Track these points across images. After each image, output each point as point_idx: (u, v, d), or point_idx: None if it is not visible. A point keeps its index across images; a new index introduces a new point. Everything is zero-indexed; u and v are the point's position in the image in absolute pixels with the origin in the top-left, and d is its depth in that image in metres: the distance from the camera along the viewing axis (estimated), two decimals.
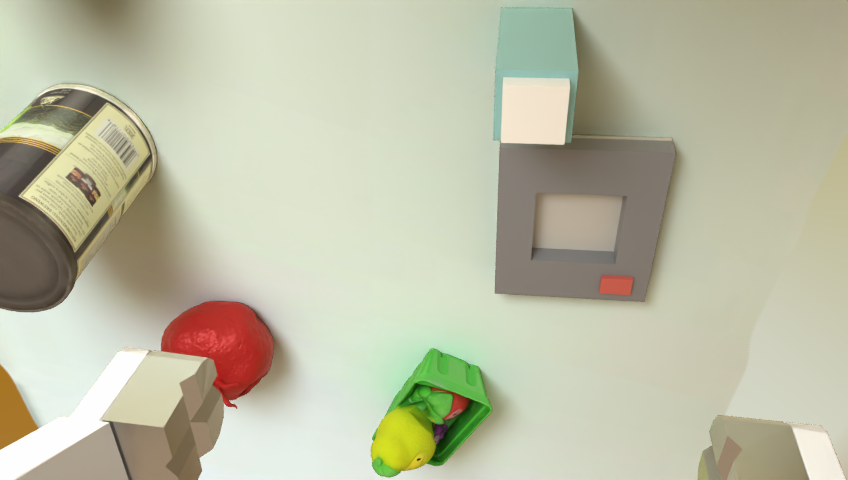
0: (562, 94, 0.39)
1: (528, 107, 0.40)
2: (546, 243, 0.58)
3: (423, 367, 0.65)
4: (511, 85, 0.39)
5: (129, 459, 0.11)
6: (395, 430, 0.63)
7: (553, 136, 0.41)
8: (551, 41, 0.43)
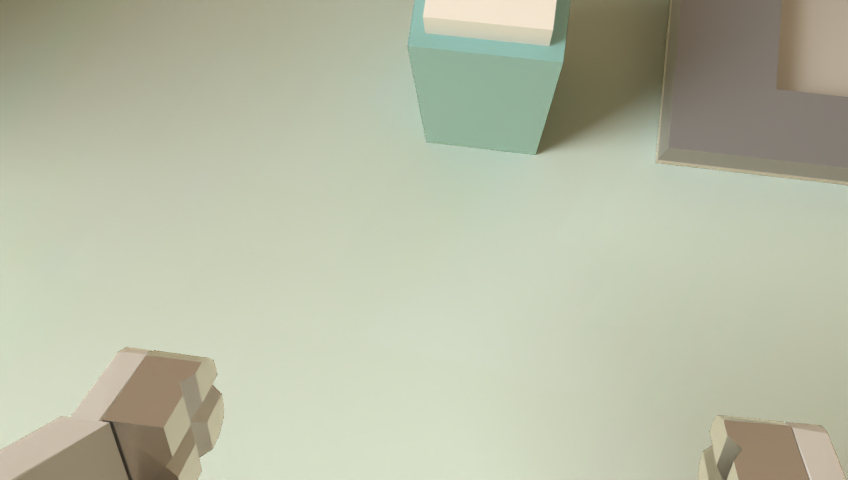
0: None
1: None
2: None
3: None
4: (425, 2, 0.20)
5: (129, 459, 0.11)
6: None
7: None
8: None
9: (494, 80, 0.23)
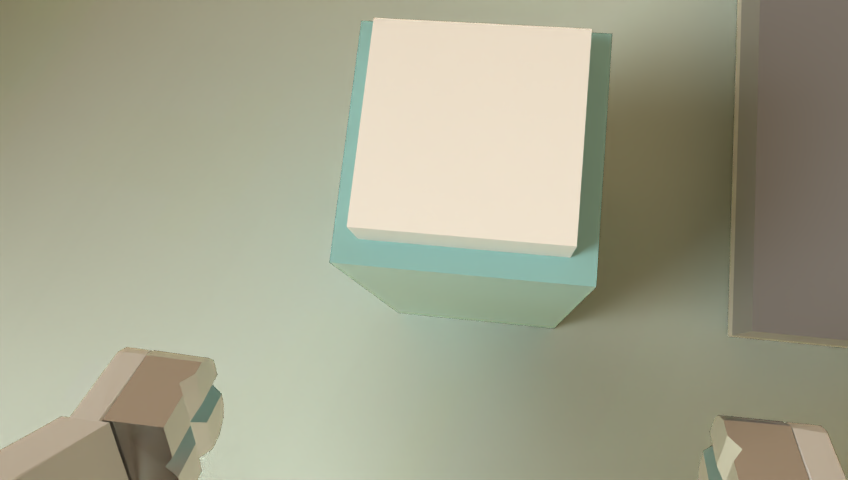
0: (397, 39, 0.12)
1: (436, 145, 0.12)
2: None
3: None
4: (351, 197, 0.12)
5: (129, 459, 0.11)
6: None
7: (556, 64, 0.12)
8: None
9: (482, 290, 0.14)
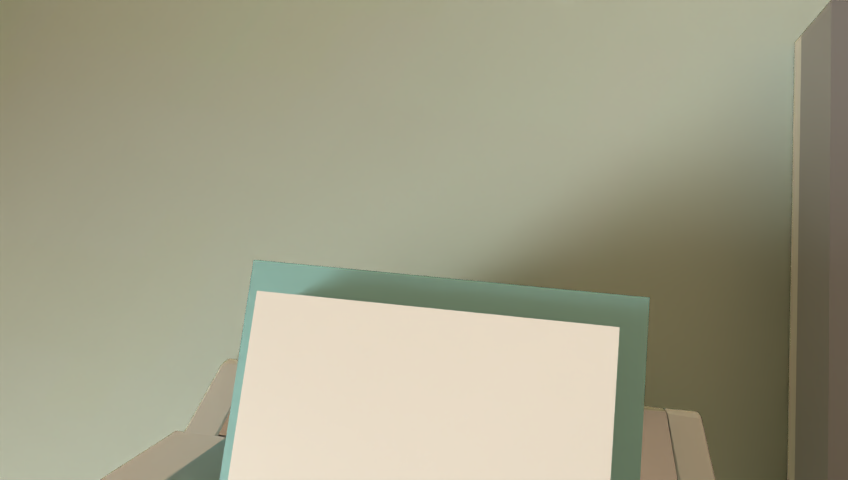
0: (294, 331, 0.07)
1: None
2: None
3: None
4: None
5: None
6: None
7: (559, 391, 0.07)
8: None
9: None
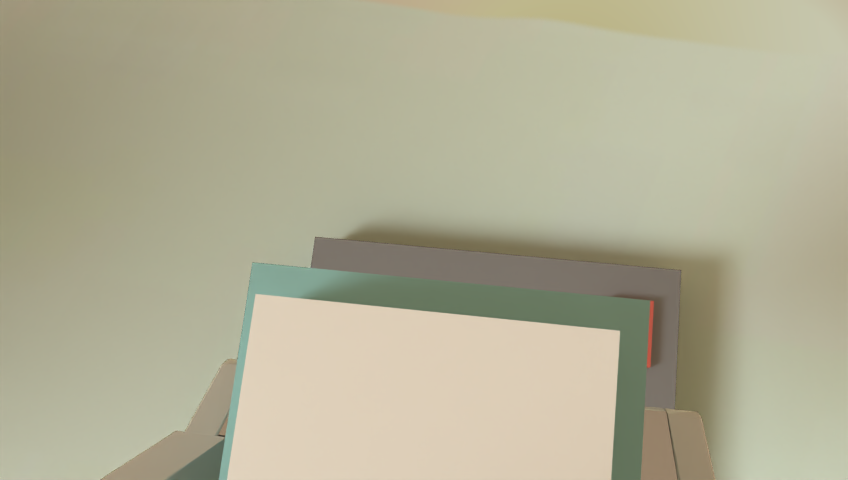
0: (293, 334, 0.07)
1: None
2: None
3: None
4: None
5: None
6: None
7: (560, 395, 0.07)
8: None
9: None
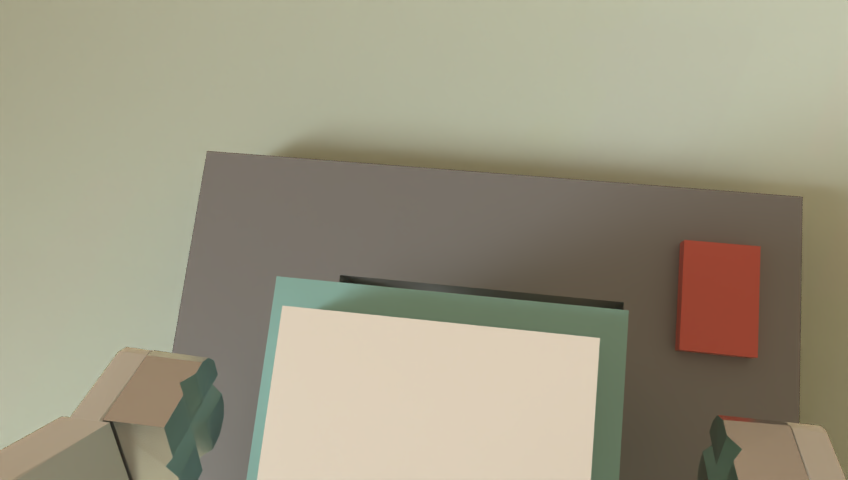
0: (315, 341, 0.08)
1: None
2: None
3: None
4: None
5: (129, 459, 0.11)
6: None
7: (547, 393, 0.08)
8: None
9: None
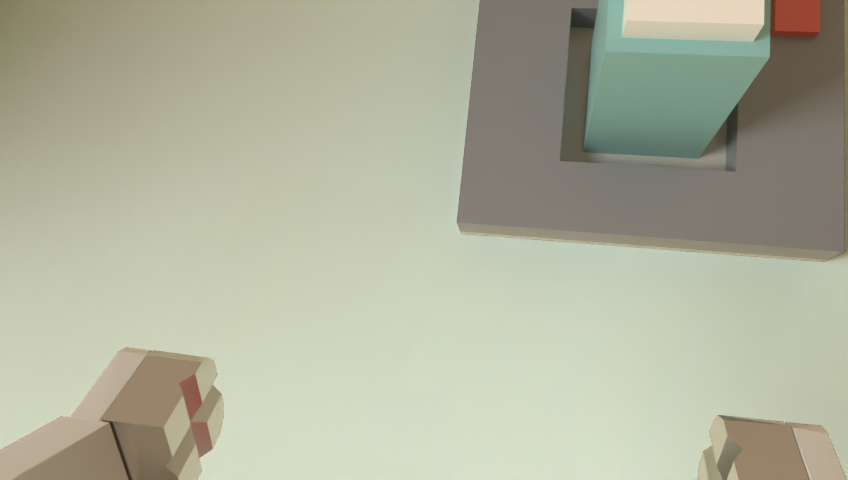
0: None
1: None
2: (713, 154, 0.29)
3: None
4: (626, 5, 0.20)
5: (129, 459, 0.11)
6: None
7: None
8: (599, 20, 0.25)
9: (685, 81, 0.22)
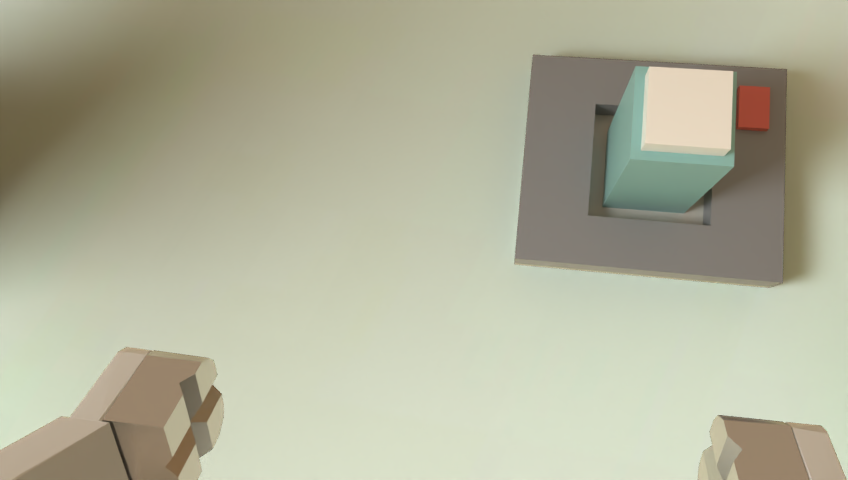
0: (659, 74, 0.32)
1: (677, 113, 0.32)
2: (694, 210, 0.41)
3: None
4: (645, 133, 0.32)
5: (129, 459, 0.11)
6: None
7: (720, 84, 0.32)
8: (620, 124, 0.37)
9: (679, 174, 0.34)
